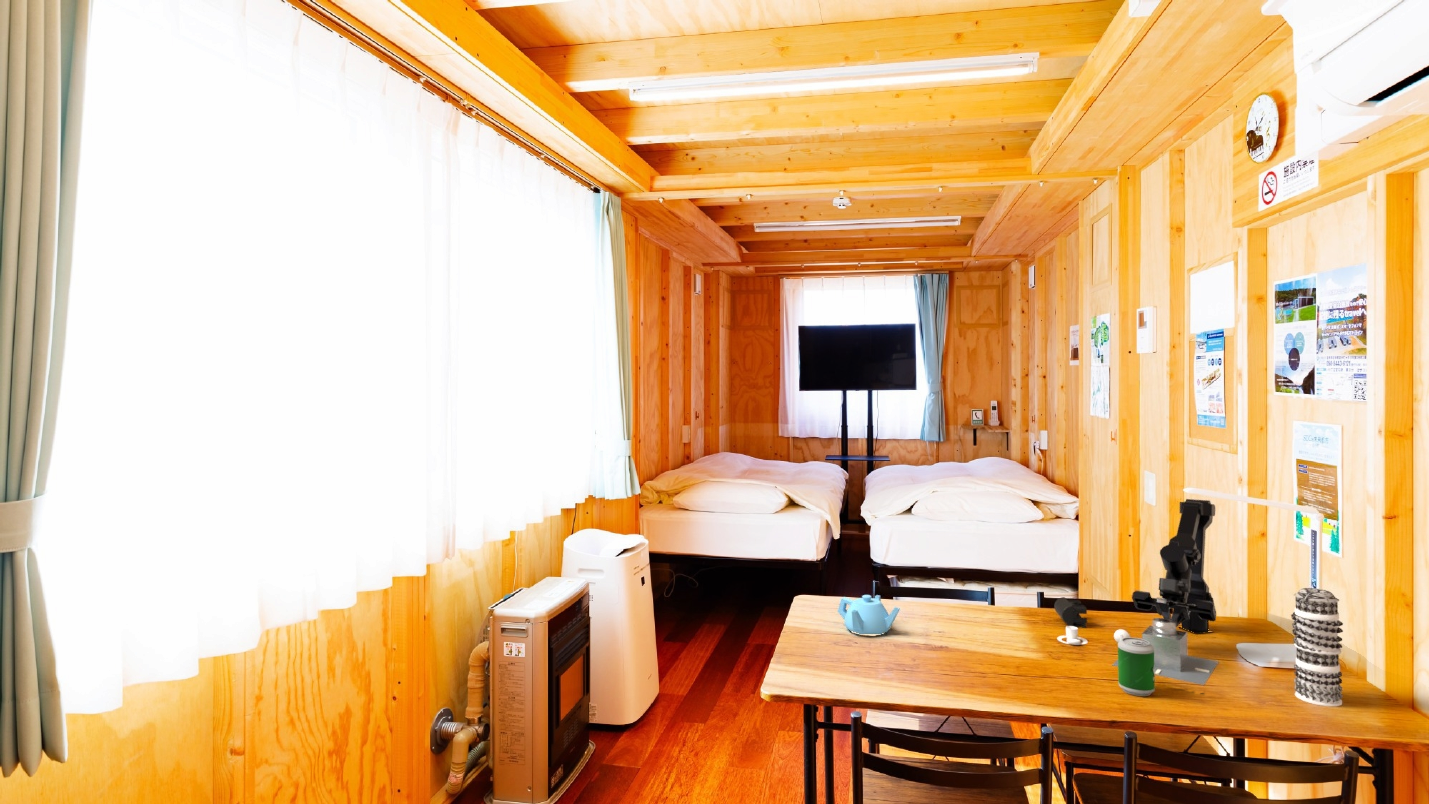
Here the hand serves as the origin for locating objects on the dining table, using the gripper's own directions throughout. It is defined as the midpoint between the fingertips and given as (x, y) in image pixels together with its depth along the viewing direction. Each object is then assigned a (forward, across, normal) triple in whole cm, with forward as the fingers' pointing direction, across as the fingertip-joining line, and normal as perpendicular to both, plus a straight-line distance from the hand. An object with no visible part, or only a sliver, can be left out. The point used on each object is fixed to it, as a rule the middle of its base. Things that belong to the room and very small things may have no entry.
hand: (1168, 632), depth 190 cm
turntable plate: (+9, 0, +2) cm, 9 cm away
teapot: (+25, -75, -13) cm, 80 cm away
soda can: (+24, -2, -12) cm, 27 cm away
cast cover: (+8, 0, +2) cm, 8 cm away
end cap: (-8, -30, +19) cm, 36 cm away
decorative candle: (+9, +30, +3) cm, 32 cm away
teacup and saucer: (+6, -27, +6) cm, 28 cm away
